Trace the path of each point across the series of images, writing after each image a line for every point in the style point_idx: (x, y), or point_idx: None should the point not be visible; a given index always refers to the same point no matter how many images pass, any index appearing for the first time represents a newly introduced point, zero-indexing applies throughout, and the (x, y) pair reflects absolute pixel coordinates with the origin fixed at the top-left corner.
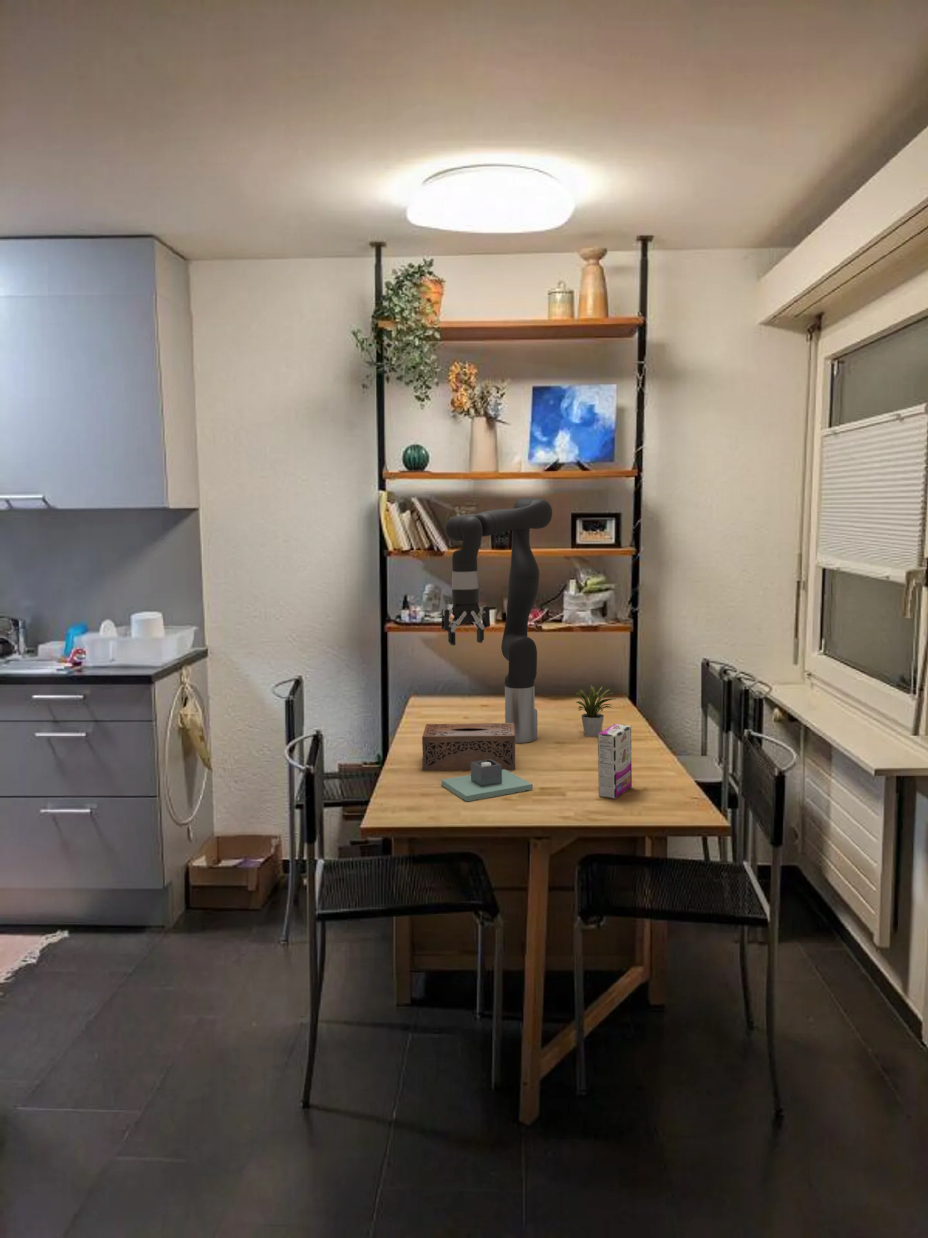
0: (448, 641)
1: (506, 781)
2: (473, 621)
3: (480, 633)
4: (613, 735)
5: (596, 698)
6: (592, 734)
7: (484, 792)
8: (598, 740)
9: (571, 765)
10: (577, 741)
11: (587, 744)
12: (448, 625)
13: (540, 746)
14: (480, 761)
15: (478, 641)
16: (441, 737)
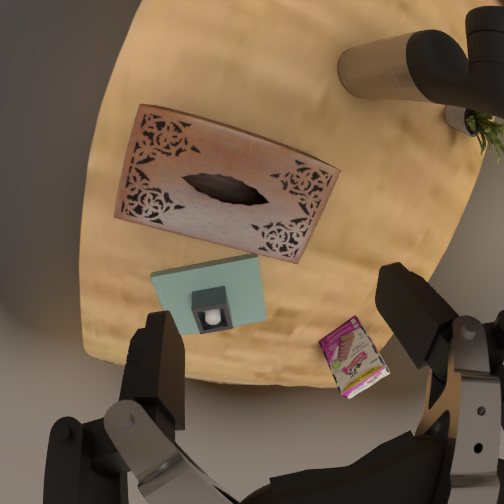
0: (132, 338)
1: (239, 305)
2: (447, 411)
3: (407, 349)
4: (348, 398)
5: (494, 142)
6: (450, 124)
7: (199, 332)
8: (338, 388)
9: (360, 239)
10: (425, 133)
11: (427, 154)
12: (123, 487)
13: (374, 127)
14: (206, 310)
15: (380, 287)
16: (152, 226)
